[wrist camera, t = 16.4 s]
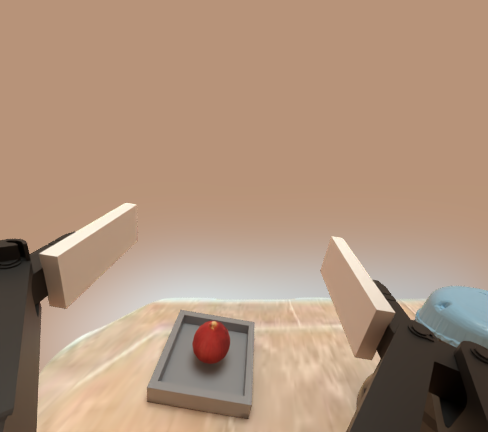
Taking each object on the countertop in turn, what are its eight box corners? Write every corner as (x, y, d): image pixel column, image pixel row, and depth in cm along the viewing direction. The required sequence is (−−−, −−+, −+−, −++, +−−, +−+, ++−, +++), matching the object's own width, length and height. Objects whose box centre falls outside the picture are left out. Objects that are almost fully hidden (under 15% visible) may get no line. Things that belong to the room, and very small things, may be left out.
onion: (203, 337, 42) (207, 302, 39) (232, 352, 40) (239, 316, 37) (183, 365, 37) (187, 326, 34) (216, 383, 35) (222, 344, 32)
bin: (179, 321, 45) (180, 309, 44) (251, 334, 45) (254, 322, 44) (147, 401, 32) (147, 387, 31) (248, 418, 32) (251, 405, 31)
